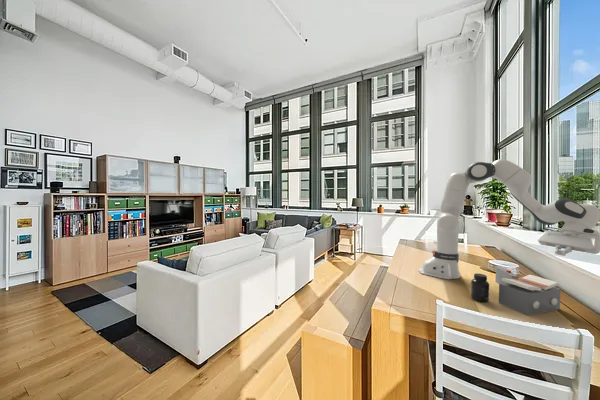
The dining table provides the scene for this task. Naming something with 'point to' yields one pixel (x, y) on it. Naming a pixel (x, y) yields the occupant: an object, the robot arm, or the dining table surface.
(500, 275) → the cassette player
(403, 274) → the dining table surface
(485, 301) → the supplement bottle
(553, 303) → the switch console
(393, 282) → the dining table surface
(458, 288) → the dining table surface
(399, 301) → the dining table surface
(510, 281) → the left rocker
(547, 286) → the right rocker
